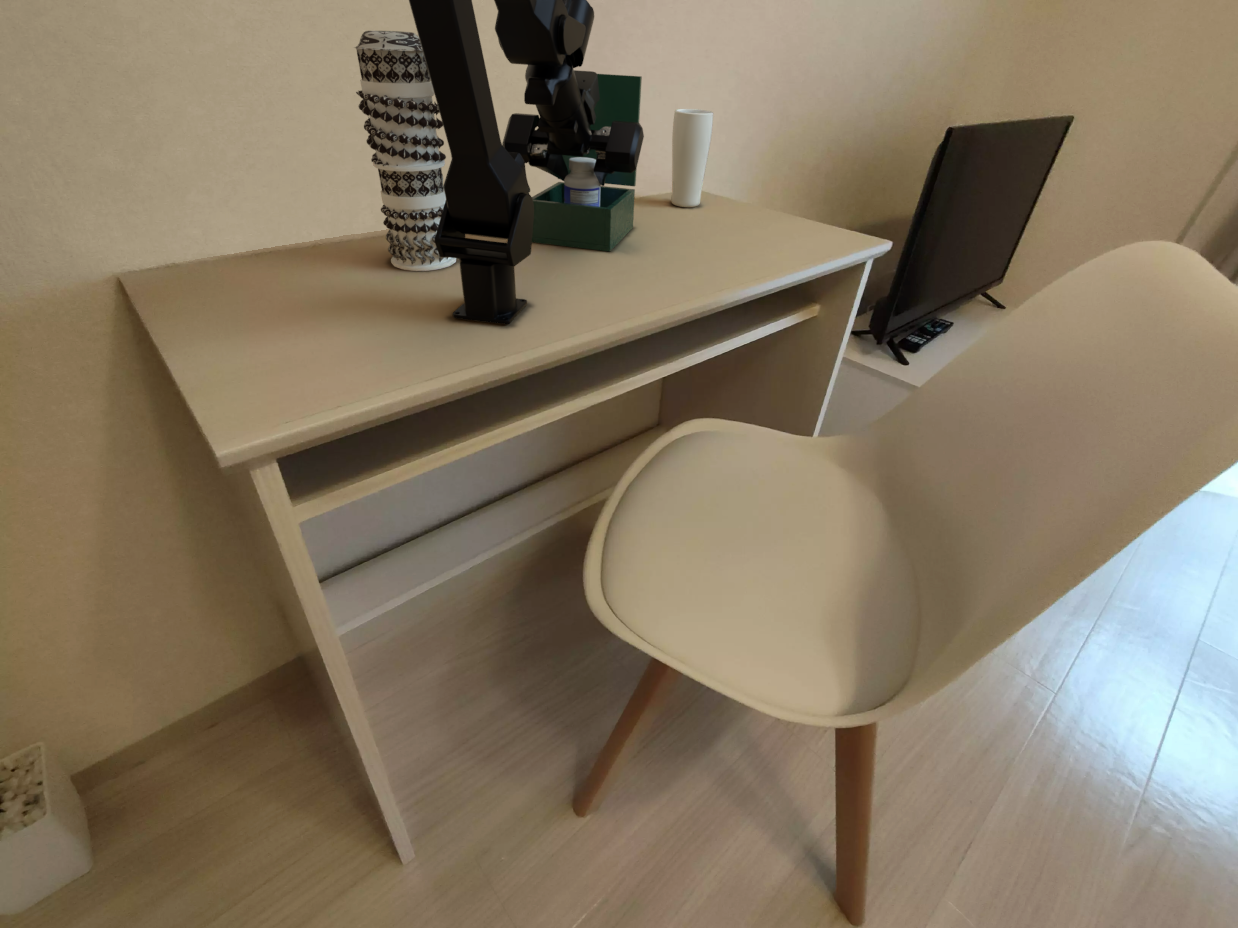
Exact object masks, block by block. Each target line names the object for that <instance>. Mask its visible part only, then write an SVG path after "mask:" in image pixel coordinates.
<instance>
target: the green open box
mask: <svg viewBox="0 0 1238 928" xmlns="http://www.w3.org/2000/svg"><path fill="white" fill-rule="evenodd" d="M635 193H636V189H635V188H627V187H615V186H605V185H604V186H602V185H601V192H600V207H598V206H588V205H579V204H569V203H564V181H558V182H556V183H554V184H552V185H551V186H549V187H546V188H545V189H544V190H541V191H540V192H538V193H537V194H535V195H533V196H531V197H532V199H533V203H534V221H533V233H532V243H535V244H543V245H550V246H551V245H553V246H561V247H568V248H569V247H570V248H578V249H585V250H594V251H602V252H611V251H612V250H613V249H614V248H615V247H616V246H617V245H618V244H619V243H620V242H621V241H622V240H623V239H624V238H625V237H626V236H627V234H628V233H630V231H632V230H633V228H634V216H635V215H634V213H635V197H636V196H635V195H636V194H635Z"/></svg>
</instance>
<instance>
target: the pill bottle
mask: <svg viewBox="0 0 1238 928" xmlns="http://www.w3.org/2000/svg"><path fill="white" fill-rule="evenodd" d="M595 163H596V160H595V159H593V158H585V157H575V158H570V159H569V170H571V173H570V174H568V175H567V176H566V177H565V179H564V181H563V182H564V203H569V204H579V205H588V206H598V207H600V192H601V186H602V185H601V184H600V183H599V181H598V179H597V177H596V175H595V173H594V167H595Z"/></svg>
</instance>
